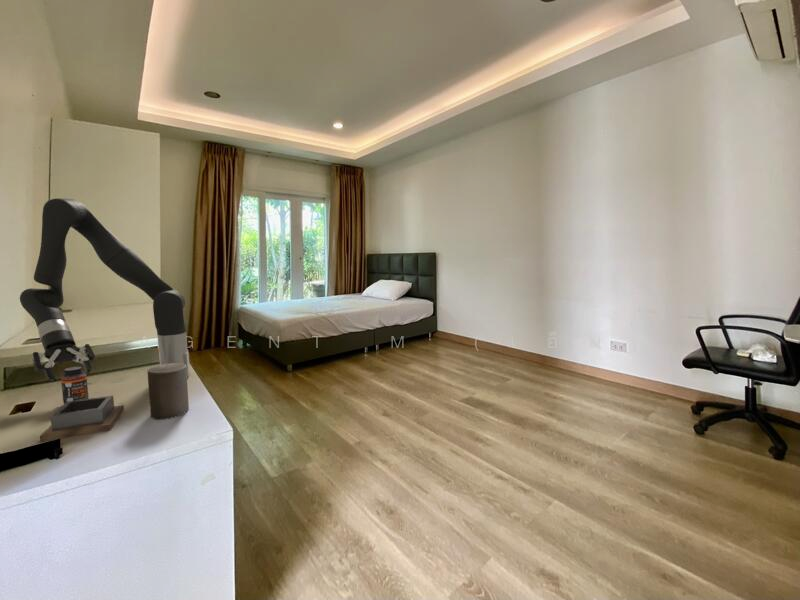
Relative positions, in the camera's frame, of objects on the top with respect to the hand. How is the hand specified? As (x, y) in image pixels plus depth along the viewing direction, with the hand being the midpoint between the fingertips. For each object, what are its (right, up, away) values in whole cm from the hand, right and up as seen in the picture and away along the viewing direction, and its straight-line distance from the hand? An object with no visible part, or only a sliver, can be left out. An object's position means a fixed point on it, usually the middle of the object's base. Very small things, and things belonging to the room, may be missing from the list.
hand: (71, 375), depth 113 cm
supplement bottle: (+2, -9, 0) cm, 9 cm away
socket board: (+18, -10, -15) cm, 25 cm away
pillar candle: (+36, -9, -7) cm, 38 cm away
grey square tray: (+18, -9, -15) cm, 25 cm away
